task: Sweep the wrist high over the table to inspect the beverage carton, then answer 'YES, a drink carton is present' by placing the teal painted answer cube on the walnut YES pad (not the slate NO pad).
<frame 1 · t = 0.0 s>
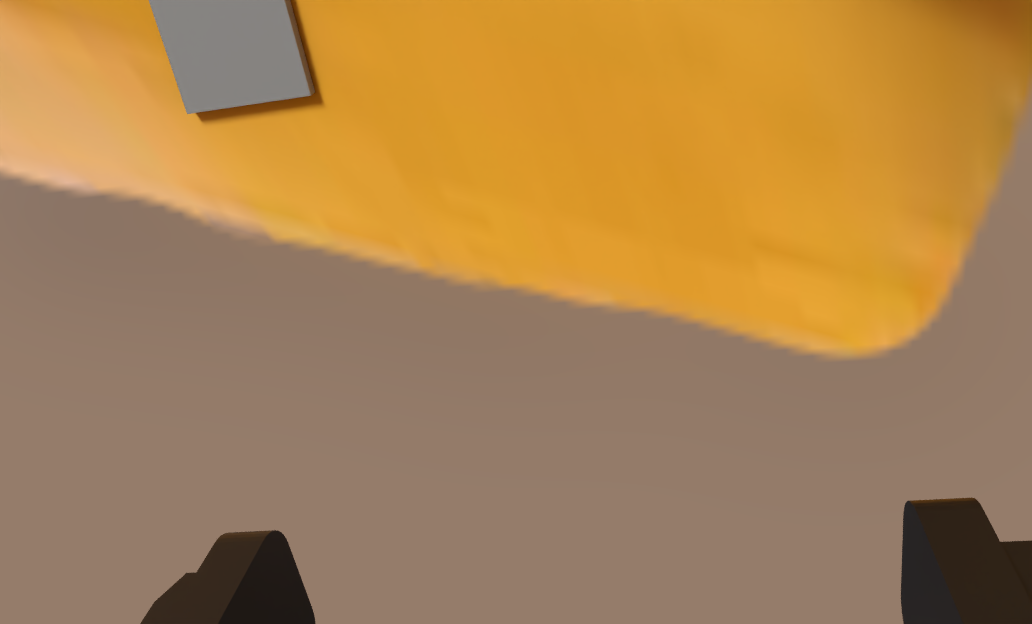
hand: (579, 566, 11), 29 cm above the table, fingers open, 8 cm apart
no pad: (232, 34, 38), on the table
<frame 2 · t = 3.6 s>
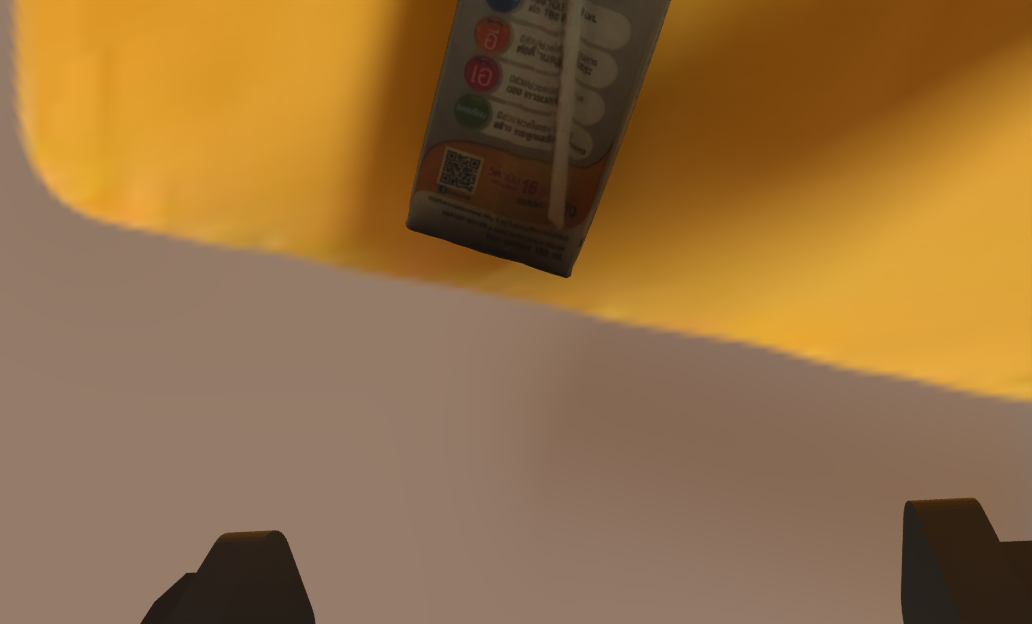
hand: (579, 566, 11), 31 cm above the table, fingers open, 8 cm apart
beverage carton: (560, 15, 39), on the table
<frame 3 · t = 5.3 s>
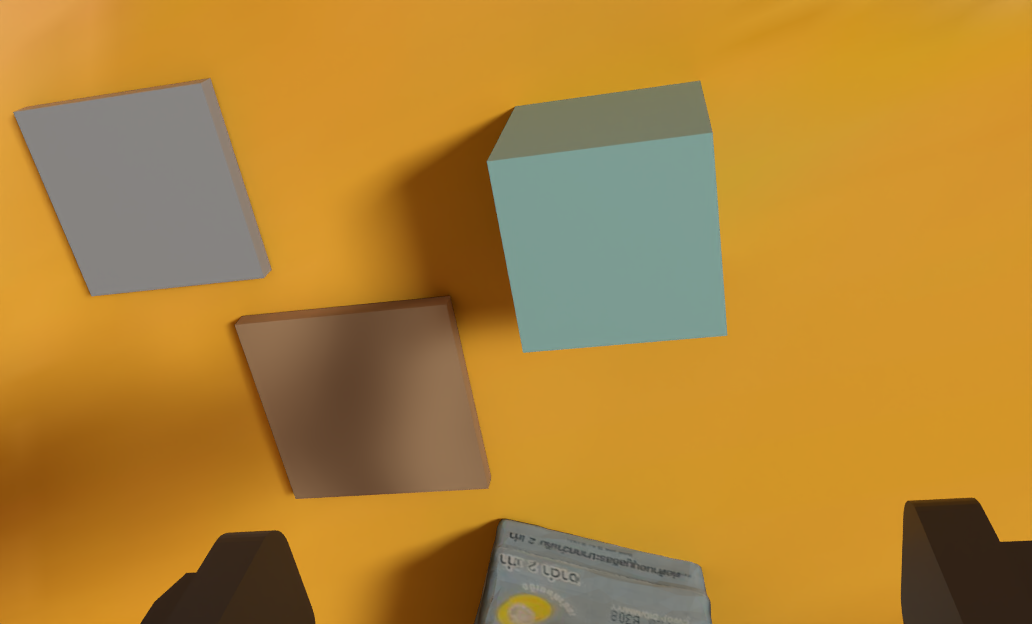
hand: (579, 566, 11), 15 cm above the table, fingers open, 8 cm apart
no pad: (152, 190, 27), on the table
yes pad: (370, 399, 29), on the table
answer cube: (616, 180, 25), on the table
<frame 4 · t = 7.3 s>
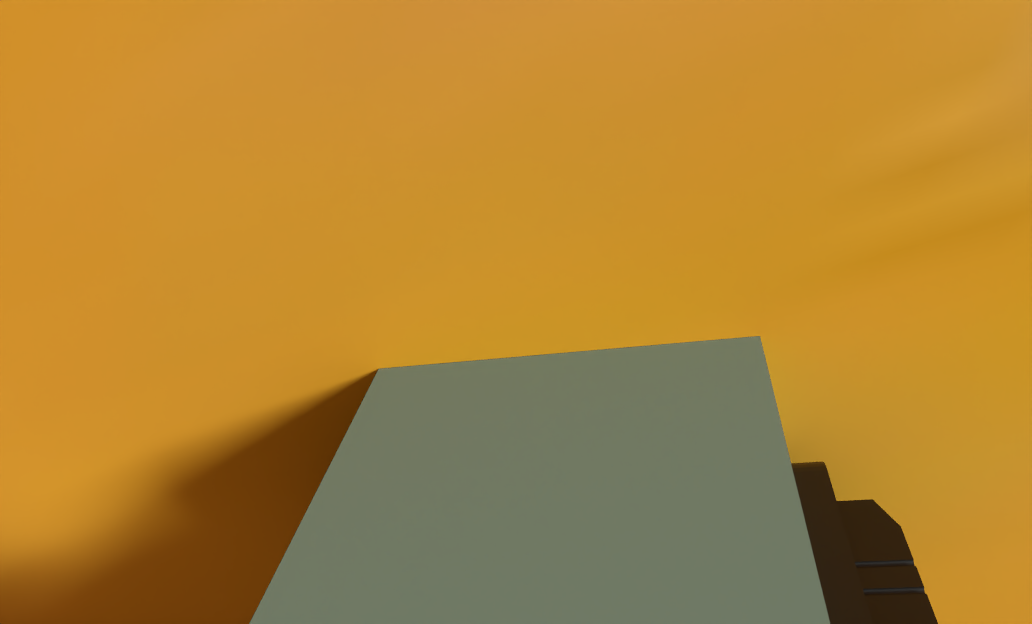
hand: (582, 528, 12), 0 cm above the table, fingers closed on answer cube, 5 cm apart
answer cube: (587, 504, 12), on the table, touching gripper
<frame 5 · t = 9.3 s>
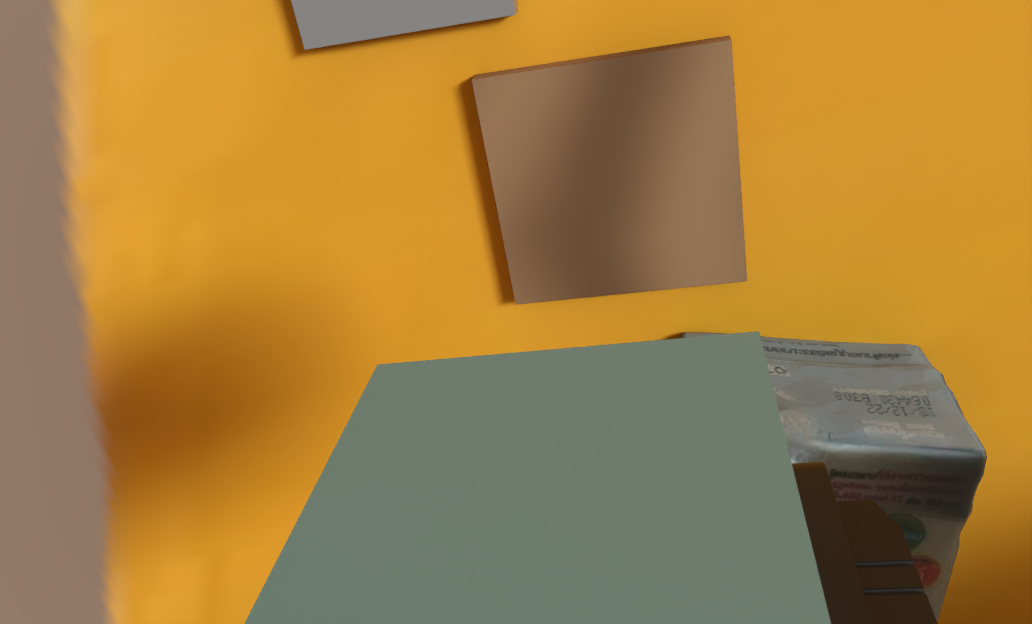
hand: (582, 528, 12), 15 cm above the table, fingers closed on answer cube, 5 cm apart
yes pad: (614, 177, 26), on the table
answer cube: (586, 500, 12), point 15 cm above the table, touching gripper
beverage carton: (761, 553, 32), on the table
when the fingers open (3 cm above the table, at t = 11.7 s): answer cube drops 1 cm, resting on yes pad.
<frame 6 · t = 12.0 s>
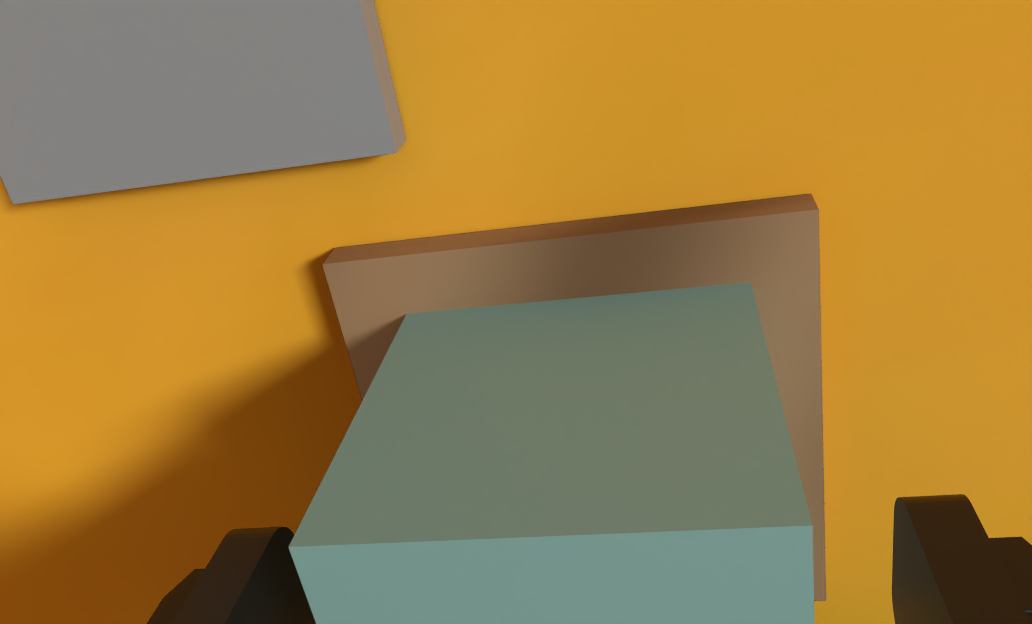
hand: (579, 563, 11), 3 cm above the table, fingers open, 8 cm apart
yes pad: (592, 421, 14), on the table
answer cube: (593, 440, 14), point 1 cm above the table, touching yes pad
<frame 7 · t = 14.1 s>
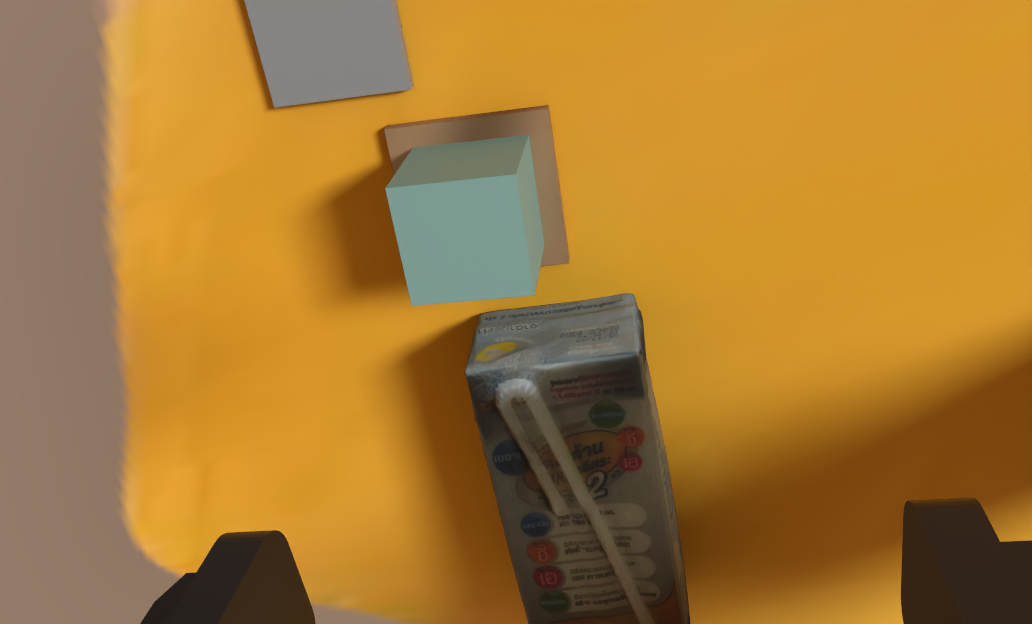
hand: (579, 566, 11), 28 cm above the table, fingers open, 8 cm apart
no pad: (327, 22, 36), on the table
yes pad: (480, 193, 39), on the table
answer cube: (479, 197, 38), point 1 cm above the table, touching yes pad
beverage carton: (590, 455, 45), on the table
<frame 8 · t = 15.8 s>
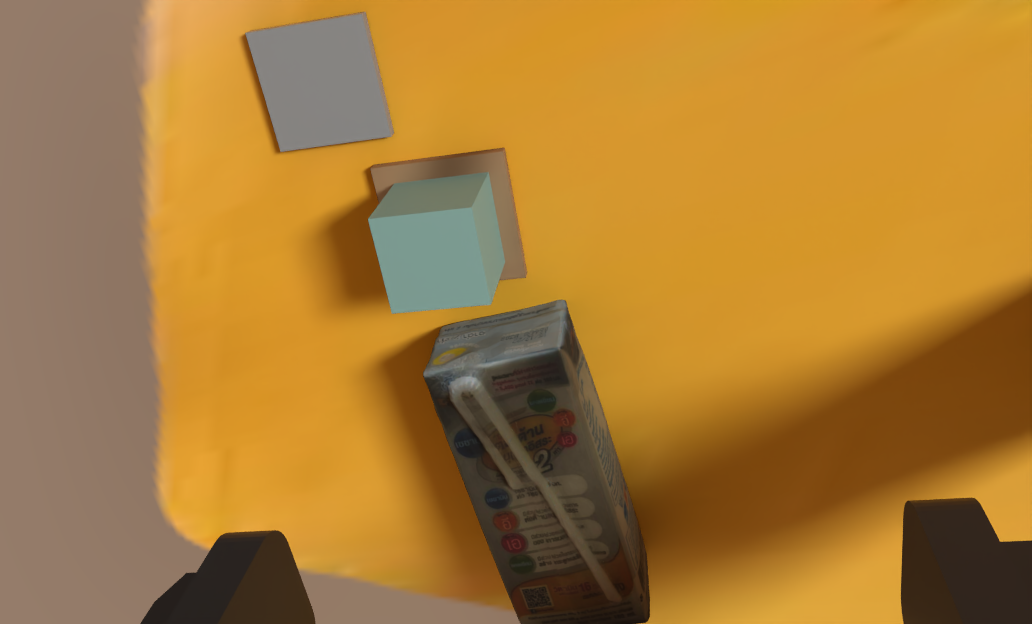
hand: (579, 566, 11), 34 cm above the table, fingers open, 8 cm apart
no pad: (323, 82, 44), on the table
yes pad: (451, 219, 47), on the table
answer cube: (450, 223, 46), point 1 cm above the table, touching yes pad
beverage carton: (550, 440, 53), on the table
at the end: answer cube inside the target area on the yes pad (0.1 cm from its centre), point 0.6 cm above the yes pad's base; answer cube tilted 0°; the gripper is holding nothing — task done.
